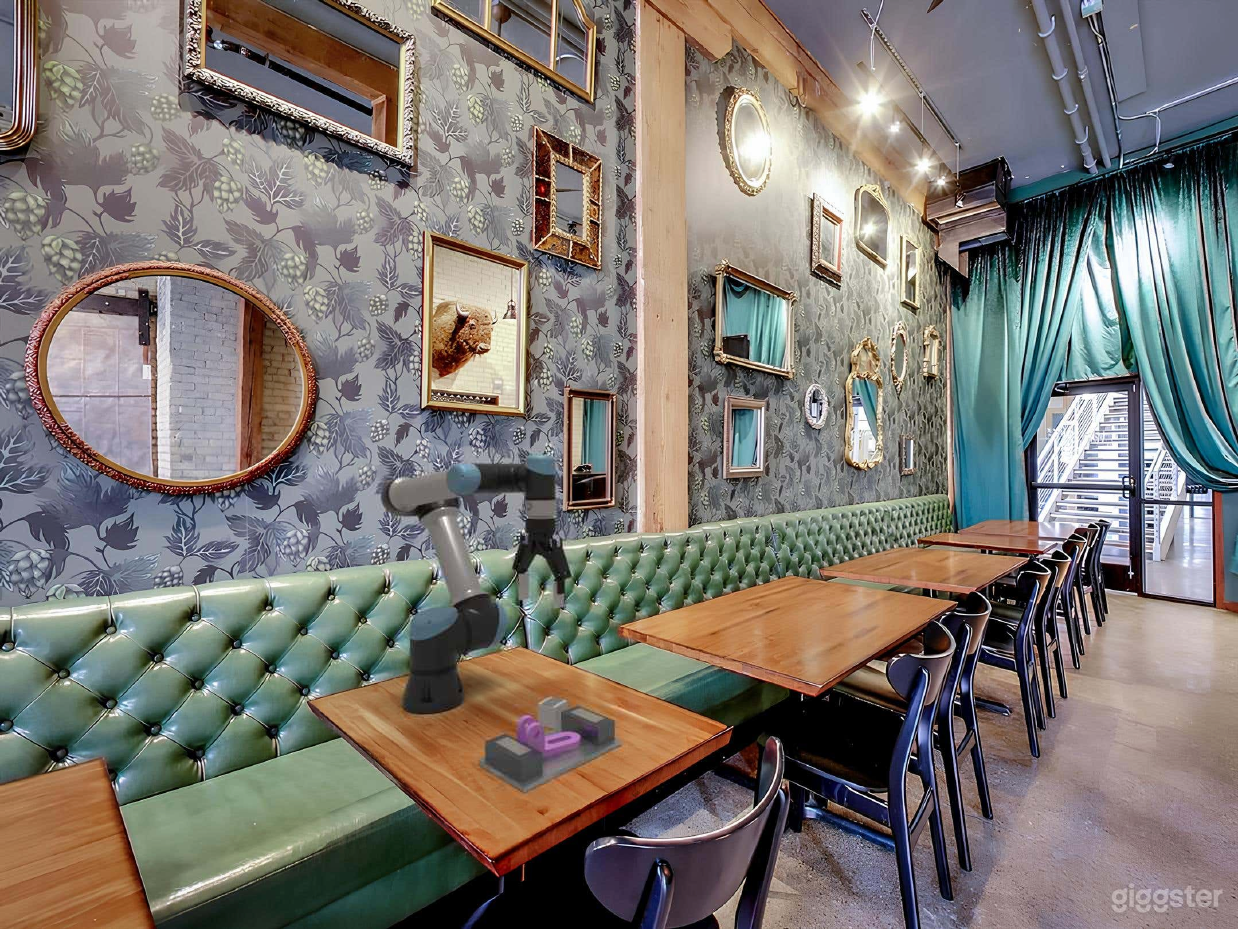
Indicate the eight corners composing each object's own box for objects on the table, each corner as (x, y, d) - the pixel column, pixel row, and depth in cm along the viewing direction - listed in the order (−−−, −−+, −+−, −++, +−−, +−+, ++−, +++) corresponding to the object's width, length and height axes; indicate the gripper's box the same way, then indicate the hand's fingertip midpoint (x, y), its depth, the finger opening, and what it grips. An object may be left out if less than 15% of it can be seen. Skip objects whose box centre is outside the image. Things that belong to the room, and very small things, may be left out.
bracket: (527, 762, 115) (527, 727, 116) (516, 751, 120) (516, 717, 120) (585, 746, 122) (584, 712, 122) (572, 736, 127) (572, 704, 127)
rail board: (478, 765, 117) (478, 739, 117) (574, 724, 136) (574, 702, 136) (524, 793, 107) (524, 764, 107) (621, 745, 125) (621, 720, 126)
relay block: (537, 725, 136) (537, 703, 136) (550, 717, 140) (550, 695, 140) (555, 729, 133) (555, 707, 134) (567, 721, 138) (567, 699, 138)
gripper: (498, 515, 150) (498, 598, 149) (561, 520, 133) (562, 614, 132) (522, 514, 155) (522, 593, 155) (585, 519, 138) (586, 608, 138)
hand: (540, 603), depth 144 cm, fingers open, 13 cm apart
